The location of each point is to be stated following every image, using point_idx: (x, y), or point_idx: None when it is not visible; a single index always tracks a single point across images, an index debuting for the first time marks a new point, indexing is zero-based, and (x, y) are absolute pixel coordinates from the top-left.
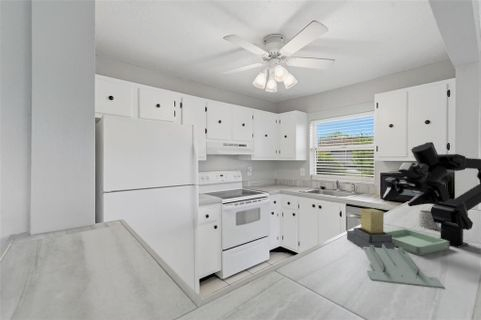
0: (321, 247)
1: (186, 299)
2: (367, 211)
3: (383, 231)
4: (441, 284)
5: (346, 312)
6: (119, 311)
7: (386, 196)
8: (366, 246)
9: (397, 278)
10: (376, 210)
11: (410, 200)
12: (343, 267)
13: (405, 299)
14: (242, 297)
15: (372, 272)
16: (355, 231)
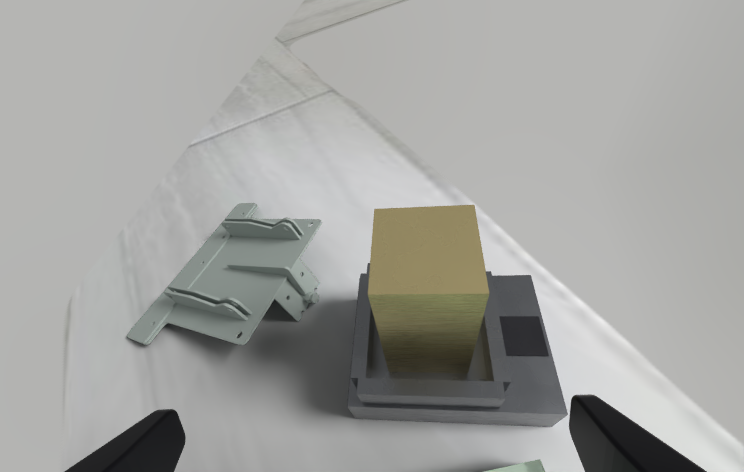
0: (427, 180)
1: (297, 35)
2: (407, 209)
3: (418, 391)
4: (131, 335)
5: (200, 137)
6: (299, 12)
7: (610, 462)
8: None
9: (206, 249)
10: (421, 275)
11: (125, 451)
12: (303, 182)
13: (167, 221)
14: (280, 64)
15: (246, 210)
16: None
